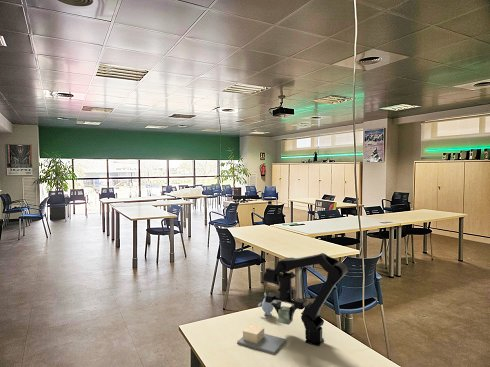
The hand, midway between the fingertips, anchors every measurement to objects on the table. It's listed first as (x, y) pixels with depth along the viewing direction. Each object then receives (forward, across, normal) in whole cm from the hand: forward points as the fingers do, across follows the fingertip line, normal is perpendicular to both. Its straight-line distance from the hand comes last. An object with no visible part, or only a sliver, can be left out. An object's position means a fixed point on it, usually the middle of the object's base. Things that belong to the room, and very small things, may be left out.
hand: (285, 318), depth 156 cm
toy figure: (+7, +16, -13) cm, 22 cm away
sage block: (+1, 0, 0) cm, 1 cm away
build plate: (+7, +6, +13) cm, 16 cm away
